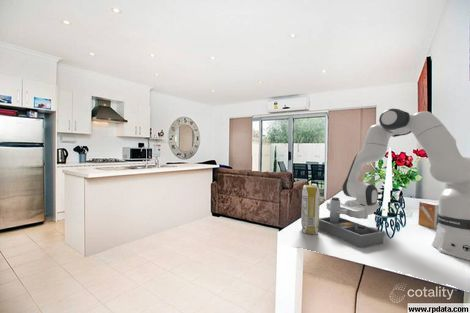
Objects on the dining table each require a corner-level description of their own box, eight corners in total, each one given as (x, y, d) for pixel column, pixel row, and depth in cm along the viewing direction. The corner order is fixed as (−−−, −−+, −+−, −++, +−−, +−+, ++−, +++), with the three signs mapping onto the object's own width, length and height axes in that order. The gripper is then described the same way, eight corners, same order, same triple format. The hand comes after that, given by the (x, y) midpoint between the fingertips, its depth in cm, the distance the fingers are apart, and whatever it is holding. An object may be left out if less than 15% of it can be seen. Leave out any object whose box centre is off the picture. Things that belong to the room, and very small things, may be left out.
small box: (418, 224, 129) (419, 201, 128) (425, 223, 131) (426, 201, 130) (434, 229, 121) (435, 205, 121) (442, 228, 123) (443, 204, 123)
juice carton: (319, 235, 107) (320, 185, 107) (302, 234, 109) (303, 184, 108) (316, 229, 117) (317, 182, 116) (300, 227, 118) (301, 182, 118)
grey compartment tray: (383, 243, 100) (383, 230, 100) (360, 247, 94) (361, 234, 94) (335, 225, 124) (336, 215, 124) (316, 227, 118) (316, 217, 118)
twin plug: (369, 237, 101) (369, 227, 101) (361, 238, 99) (362, 228, 99) (359, 234, 105) (360, 223, 105) (352, 235, 103) (353, 224, 103)
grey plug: (341, 223, 115) (342, 198, 114) (334, 224, 113) (335, 199, 113) (334, 221, 119) (335, 196, 119) (327, 222, 117) (328, 197, 117)
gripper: (337, 198, 130) (319, 200, 125) (370, 207, 111) (350, 209, 106) (337, 209, 130) (318, 211, 125) (370, 219, 112) (350, 222, 106)
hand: (333, 210), depth 115 cm, fingers closed on grey plug, 4 cm apart
